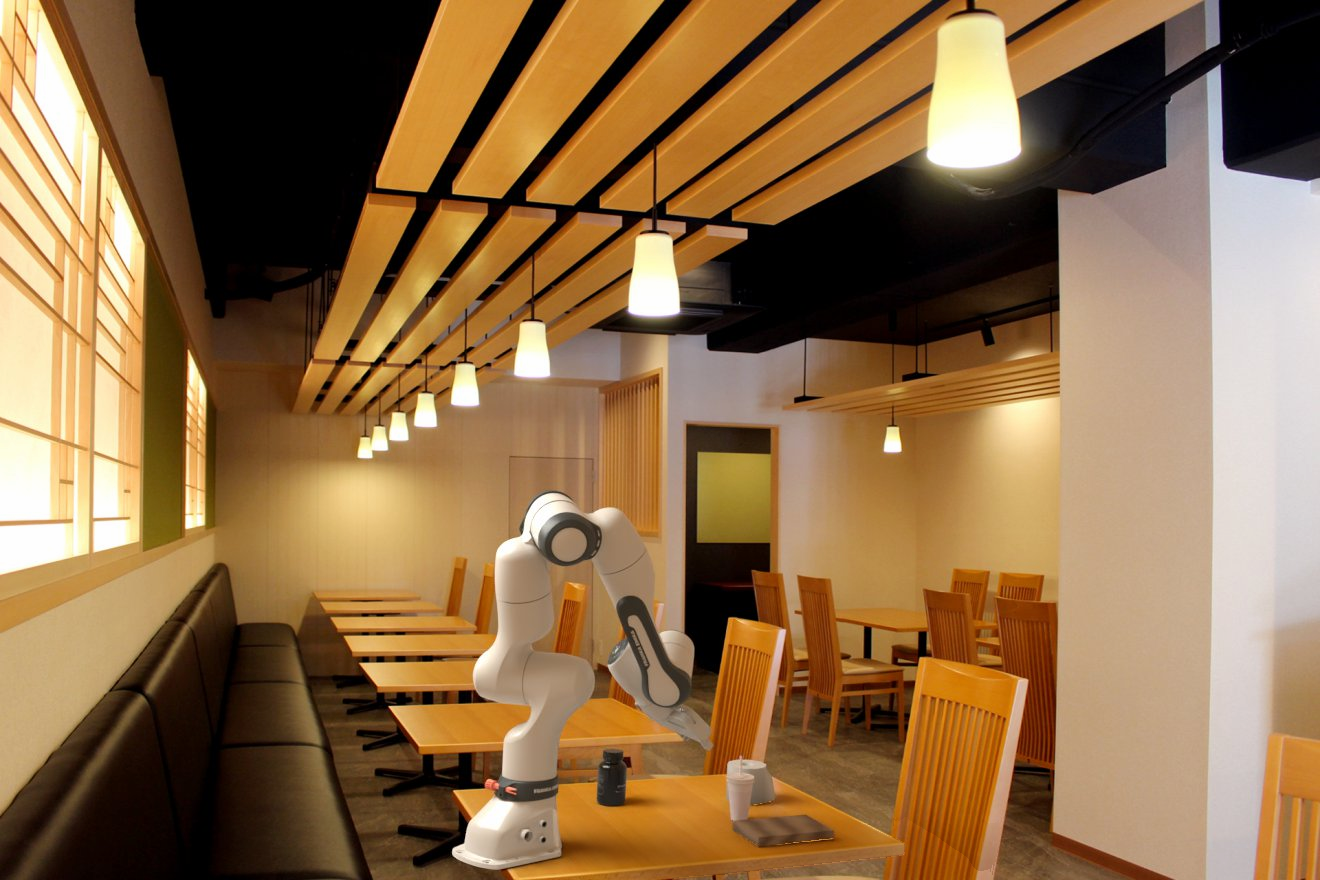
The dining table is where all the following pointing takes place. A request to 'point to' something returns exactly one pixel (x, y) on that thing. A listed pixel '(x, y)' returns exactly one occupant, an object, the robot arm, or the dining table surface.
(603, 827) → the dining table surface
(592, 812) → the dining table surface
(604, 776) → the supplement bottle
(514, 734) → the robot arm
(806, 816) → the walnut board
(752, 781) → the smoothie
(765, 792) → the toilet tissue
